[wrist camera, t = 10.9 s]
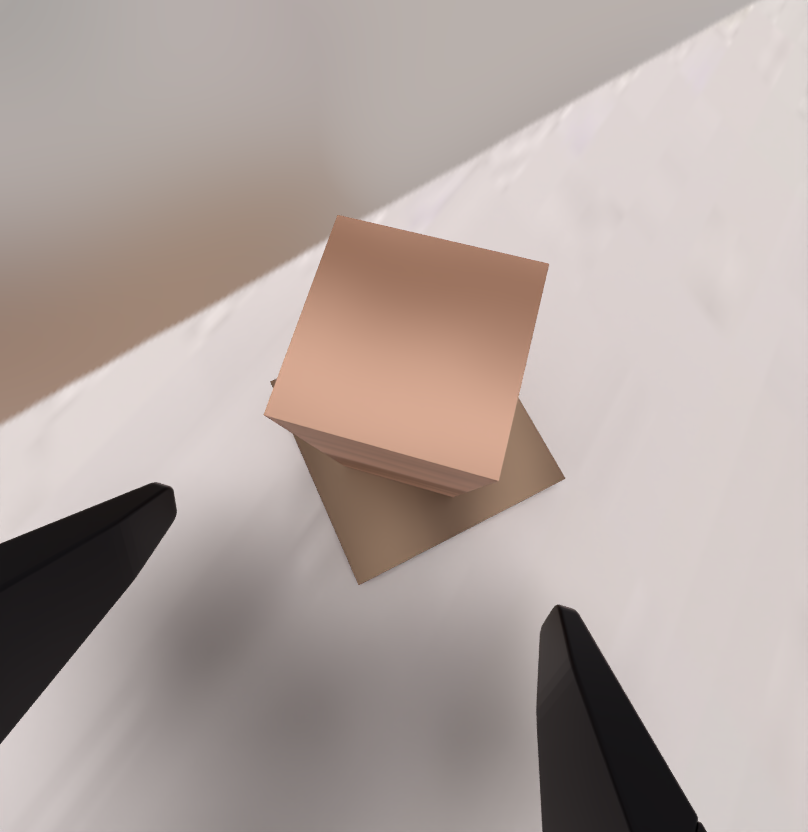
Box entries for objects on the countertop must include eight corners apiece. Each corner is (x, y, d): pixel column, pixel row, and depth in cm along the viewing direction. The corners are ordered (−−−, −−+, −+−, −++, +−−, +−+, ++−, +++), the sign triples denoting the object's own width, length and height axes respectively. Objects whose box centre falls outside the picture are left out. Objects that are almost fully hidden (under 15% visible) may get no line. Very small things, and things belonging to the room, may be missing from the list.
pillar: (453, 497, 18) (498, 481, 8) (344, 466, 18) (263, 415, 9) (479, 391, 19) (549, 264, 9) (376, 364, 19) (337, 214, 10)
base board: (363, 579, 19) (358, 585, 17) (280, 390, 21) (270, 381, 19) (554, 480, 19) (565, 478, 18) (455, 309, 21) (458, 294, 20)
